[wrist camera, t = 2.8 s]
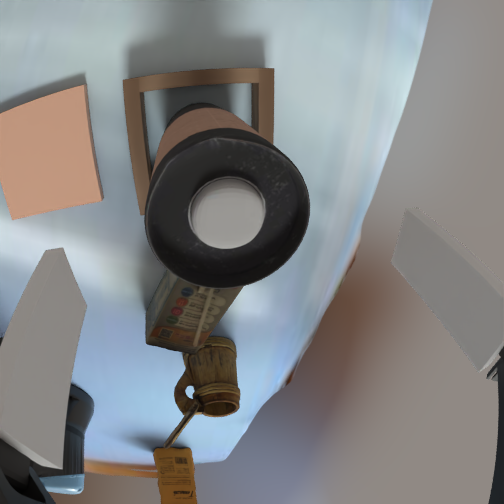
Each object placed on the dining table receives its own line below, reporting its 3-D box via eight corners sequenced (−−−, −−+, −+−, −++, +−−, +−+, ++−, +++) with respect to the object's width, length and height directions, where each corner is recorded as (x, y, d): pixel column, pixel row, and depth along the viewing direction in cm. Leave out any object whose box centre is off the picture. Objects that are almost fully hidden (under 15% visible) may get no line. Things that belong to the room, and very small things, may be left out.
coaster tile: (15, 216, 27) (12, 220, 27) (-8, 117, 20) (-12, 119, 19) (103, 197, 30) (101, 201, 29) (86, 84, 23) (83, 84, 22)
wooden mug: (163, 327, 43) (170, 437, 28) (243, 339, 48) (272, 436, 33) (153, 360, 46) (158, 457, 32) (225, 369, 52) (246, 457, 37)
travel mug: (221, 177, 32) (272, 301, 16) (154, 159, 29) (127, 276, 13) (247, 113, 29) (341, 172, 12) (177, 91, 26) (170, 110, 10)
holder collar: (143, 203, 31) (140, 215, 29) (128, 79, 24) (122, 80, 21) (264, 189, 34) (271, 199, 32) (265, 69, 26) (274, 68, 24)
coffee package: (189, 455, 78) (199, 514, 60) (151, 454, 73) (159, 514, 56) (194, 446, 73) (207, 510, 56) (154, 445, 69) (162, 511, 51)
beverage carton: (259, 226, 37) (274, 256, 32) (192, 326, 44) (196, 360, 39) (202, 200, 33) (207, 228, 28) (143, 312, 41) (142, 347, 35)
